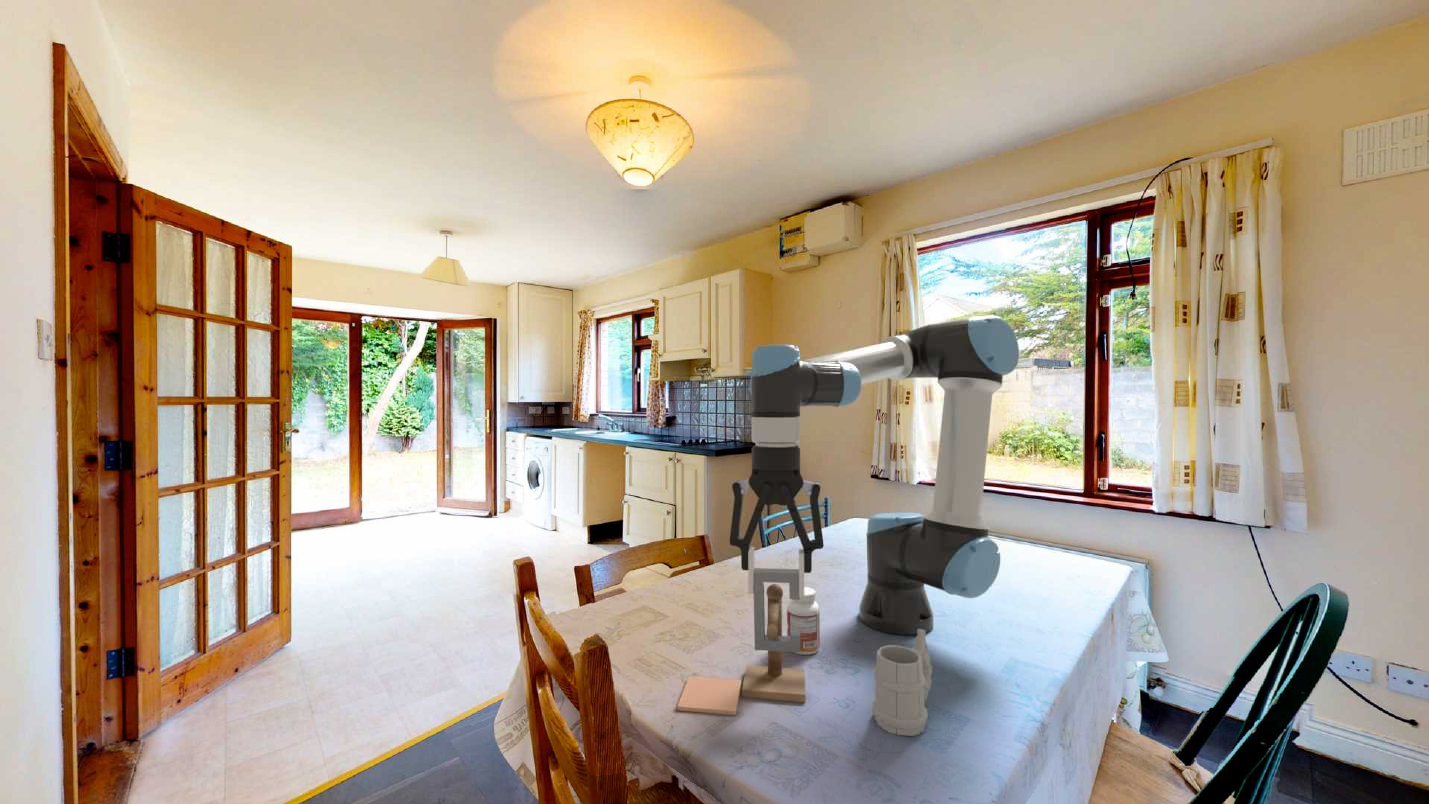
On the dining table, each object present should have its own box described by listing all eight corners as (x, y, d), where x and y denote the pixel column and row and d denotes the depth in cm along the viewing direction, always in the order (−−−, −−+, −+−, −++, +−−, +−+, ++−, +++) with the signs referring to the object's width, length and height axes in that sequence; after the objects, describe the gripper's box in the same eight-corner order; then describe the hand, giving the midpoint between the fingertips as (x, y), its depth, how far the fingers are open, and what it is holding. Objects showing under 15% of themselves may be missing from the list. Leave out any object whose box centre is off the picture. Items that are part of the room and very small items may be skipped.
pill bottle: (796, 638, 105) (795, 583, 105) (824, 646, 101) (824, 589, 101) (781, 650, 100) (781, 592, 100) (811, 659, 96) (811, 598, 96)
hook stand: (746, 672, 91) (746, 579, 91) (804, 676, 90) (804, 582, 90) (738, 719, 78) (738, 610, 78) (806, 725, 76) (806, 614, 76)
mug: (861, 719, 78) (861, 638, 78) (906, 692, 85) (906, 618, 85) (907, 745, 72) (907, 657, 72) (952, 714, 79) (952, 634, 79)
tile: (741, 683, 87) (741, 680, 87) (735, 715, 79) (735, 711, 79) (688, 679, 89) (688, 676, 89) (677, 710, 80) (677, 706, 80)
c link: (800, 646, 82) (798, 569, 82) (800, 652, 80) (798, 573, 80) (755, 644, 83) (754, 568, 83) (754, 649, 81) (753, 572, 81)
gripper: (839, 443, 84) (839, 586, 84) (716, 442, 87) (716, 580, 86) (843, 446, 76) (844, 604, 76) (708, 445, 79) (709, 597, 79)
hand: (776, 591), depth 81 cm, fingers closed on c link, 7 cm apart
